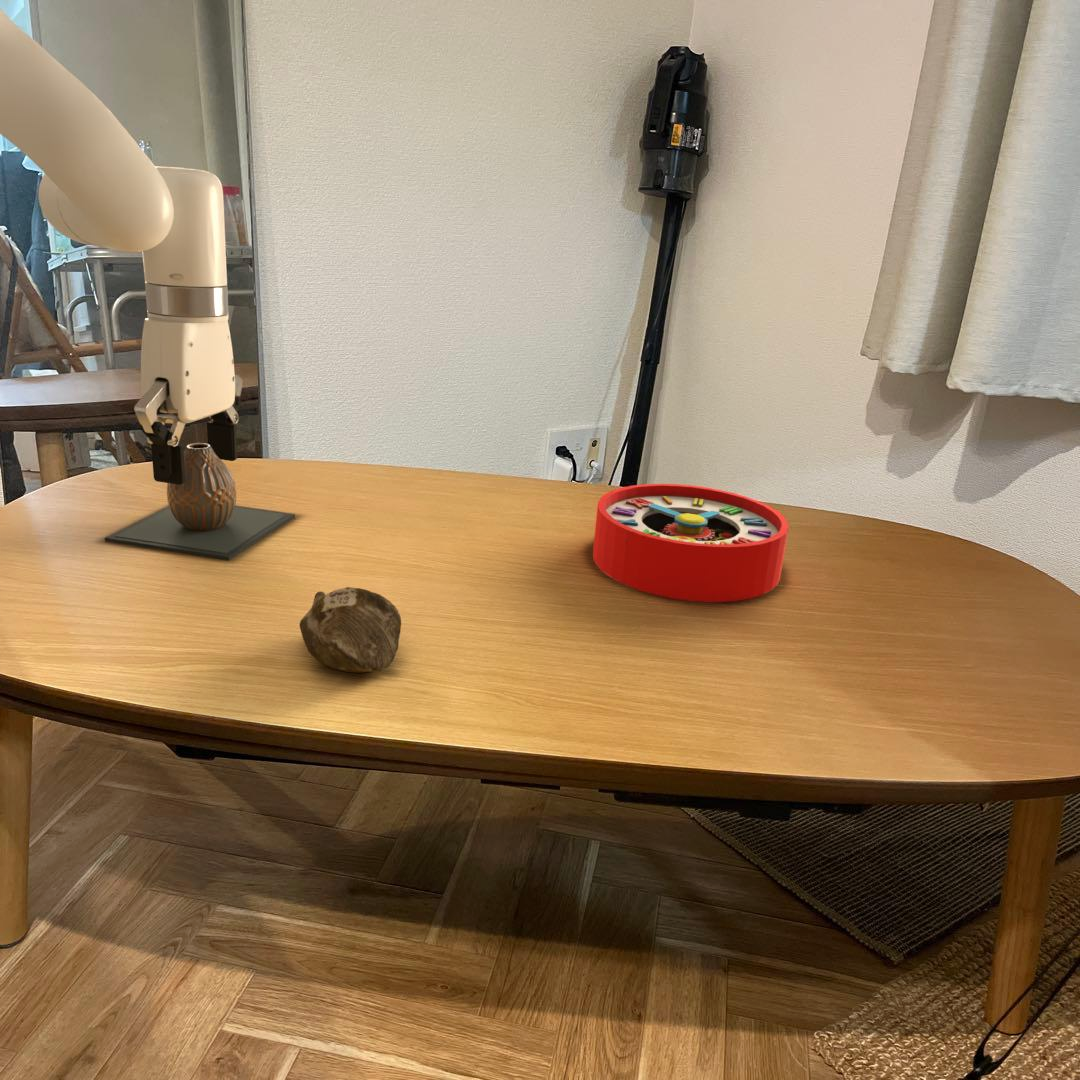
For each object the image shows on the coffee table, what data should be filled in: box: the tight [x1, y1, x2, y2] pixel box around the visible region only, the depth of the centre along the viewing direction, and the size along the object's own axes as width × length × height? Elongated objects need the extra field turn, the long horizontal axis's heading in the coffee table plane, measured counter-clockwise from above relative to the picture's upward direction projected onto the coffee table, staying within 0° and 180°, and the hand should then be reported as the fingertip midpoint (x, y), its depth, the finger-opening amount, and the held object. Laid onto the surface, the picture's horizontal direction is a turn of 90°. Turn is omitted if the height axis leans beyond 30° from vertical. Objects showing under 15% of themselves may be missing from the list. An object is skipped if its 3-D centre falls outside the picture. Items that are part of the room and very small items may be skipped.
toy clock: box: [592, 483, 790, 603], centre depth 96 cm, size 20×6×20 cm
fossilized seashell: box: [299, 586, 402, 674], centre depth 72 cm, size 8×7×10 cm
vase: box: [166, 442, 237, 531], centre depth 95 cm, size 7×7×9 cm
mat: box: [104, 505, 296, 561], centre depth 97 cm, size 14×14×1 cm
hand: (197, 470), depth 94 cm, fingers open, 9 cm apart
